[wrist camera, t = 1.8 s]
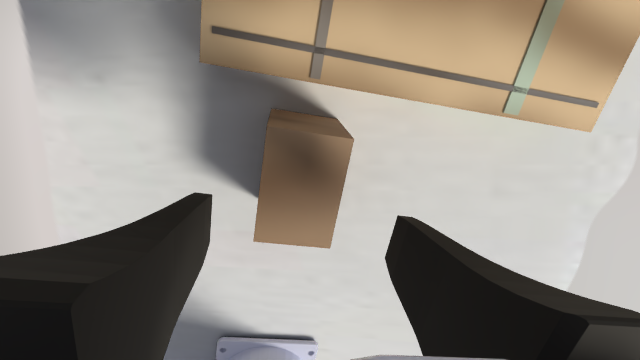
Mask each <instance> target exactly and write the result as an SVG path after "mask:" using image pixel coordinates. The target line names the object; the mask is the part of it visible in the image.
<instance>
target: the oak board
mask: <svg viewBox="0 0 640 360" xmlns="http://www.w3.org/2000/svg"><path fill="white" fill-rule="evenodd" d="M639 35H640V0H202V4H201V34H200V62H201V63H206V64H212V65H217V66H223V67H229V68H234V69H240V70H245V71H251V72H257V73H262V74H268V75H273V76H279V77H285V78H290V79H296V80H301V81H307V82H312V83H318V84H324V85H329V86H335V87H340V88H346V89H352V90H357V91H363V92H368V93H374V94H380V95H385V96H391V97H396V98H402V99H407V100H413V101H419V102H424V103H430V104H435V105H441V106H447V107H452V108H458V109H463V110H469V111H475V112H480V113H486V114H491V115H497V116H503V117H508V118H514V119H519V120H525V121H530V122H536V123H542V124H547V125H553V126H558V127H564V128H570V129H575V130H581V131H586V132H591V131H592V129H593V127H594V125H595V123H596V121H597V119H598V117H599V115H600V113H601V111H602V109H603V107H604V105H605V103H606V101H607V99H608V97H609V95H610V93H611V91H612V89H613V87H614V85H615V83H616V81H617V79H618V77H619V75H620V73H621V71H622V69H623V67H624V65H625V63H626V61H627V59H628V57H629V55H630V53H631V51H632V49H633V47H634V45H635V43H636V41H637V39H638V37H639Z"/></svg>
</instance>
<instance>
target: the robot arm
mask: <svg viewBox="0 0 640 360" xmlns="http://www.w3.org/2000/svg"><path fill="white" fill-rule="evenodd" d="M211 210H212V194H203V193H193V194H190V195H188V196H186V197H184V198H183V199H181V200H179V201H177V202H175V203H173V204H171V205H169V206H167V207H165V208H163V209H161V210H159V211H157V212H155V213H153V214H151V215H148V216H146V217H144V218H142V219H140V220H137V221H135V222H133V223H130V224H128V225H125V226H122V227H120V228H117V229H114V230H111V231H108V232H105V233H102V234H99V235H95V236H91V237H88V238H84V239H80V240H77V241H73V242H69V243H66V244H61V245H57V246H52V247H48V248H43V249H38V250H33V251H28V252H22V253H17V254H10V255H5V256H0V360H163V358H164V355H165V352H166V349H167V347H168V344H169V341H170V338H171V335H172V332H173V329H174V327H175V325H176V322H177V320H178V317H179V315H180V313H181V311H182V309H183V307H184V304H185V302H186V300H187V298H188V296H189V294H190V292H191V290H192V287H193V285H194V283H195V281H196V279H197V277H198V274H199V272H200V270H201V268H202V266H203V263H204V260H205V256H206V253H207V250H208V246H209V243H210V228H211ZM385 260H386V264H387V268H388V271H389V275H390V278H391V281H392V283H393V286H394V288H395V290H396V292H397V295H398V297H399V299H400V301H401V303H402V306H403V308H404V310H405V312H406V314H407V317H408V319H409V321H410V323H411V325H412V327H413V330H414V332H415V335H416V337H417V340H418V342H419V345H420V348H421V351H422V354H423V356H402V355H376V356H369V357H363V358H357V359H351V360H640V313H638V312H635V311H633V310H629V309H625V308H621V307H618V306H614V305H610V304H606V303H603V302H599V301H595V300H592V299H588V298H585V297H581V296H579V295H575V294H572V293H569V292H566V291H563V290H560V289H557V288H554V287H552V286H549V285H546V284H543V283H541V282H538V281H536V280H533V279H530V278H528V277H525V276H523V275H520V274H518V273H516V272H513V271H511V270H509V269H507V268H505V267H502V266H500V265H498V264H496V263H494V262H492V261H490V260H488V259H486V258H484V257H482V256H480V255H478V254H476V253H475V252H473V251H471V250H469V249H467V248H466V247H464V246H462V245H460V244H459V243H457V242H455V241H454V240H452V239H450V238H449V237H447V236H445V235H444V234H442V233H440V232H439V231H437V230H435V229H434V228H432V227H430V226H429V225H427V224H425V223H423V222H421V221H420V220H418V219H415V218H413V217H406V216H397V220H396V223H395V226H394V230H393V233H392V236H391V240H390V243H389V246H388V249H387V253H386V256H385ZM317 351H318V343H317V342H316V341H309V340H285V339H261V338H236V337H222V338H220V339H219V340H218V342H217V349H216V360H316V355H317Z"/></svg>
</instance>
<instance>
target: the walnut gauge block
mask: <svg viewBox="0 0 640 360" xmlns="http://www.w3.org/2000/svg"><path fill="white" fill-rule="evenodd" d="M353 142H354V139H353V137H352V136H351V135H350V134H349V132H348V131H347V130H346V129H345V128H344V126H343V125H342V124H341V123H340V122H339V120H338V119H334V118H328V117H322V116H316V115H309V114H303V113H297V112H291V111H285V110H278V109H272V108H271V112H270V116H269V120H268V123H267V129H266V137H265V146H264V155H263V163H262V172H261V181H260V189H259V198H258V206H257V215H256V224H255V232H254V241H253V242H264V243H275V244H286V245H297V246H308V247H319V248H330V246H331V241H332V237H333V232H334V228H335V223H336V219H337V214H338V210H339V205H340V200H341V196H342V191H343V187H344V182H345V178H346V173H347V169H348V164H349V160H350V155H351V151H352V146H353Z"/></svg>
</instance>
